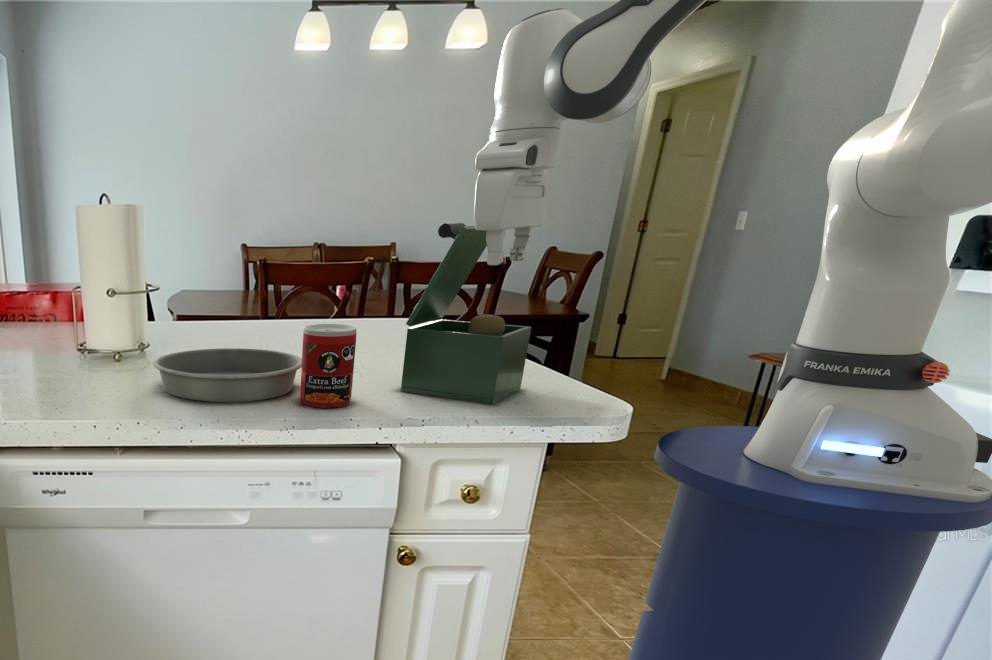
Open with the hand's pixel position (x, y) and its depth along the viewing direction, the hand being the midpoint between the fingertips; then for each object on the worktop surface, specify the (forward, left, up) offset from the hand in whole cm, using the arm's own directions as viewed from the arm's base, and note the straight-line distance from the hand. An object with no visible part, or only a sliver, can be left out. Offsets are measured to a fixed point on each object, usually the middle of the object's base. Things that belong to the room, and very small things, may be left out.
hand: (506, 262), depth 104 cm
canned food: (+17, +20, -20) cm, 33 cm away
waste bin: (+4, 0, -19) cm, 20 cm away
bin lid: (+7, 0, -2) cm, 8 cm away
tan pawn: (+1, 0, -19) cm, 19 cm away
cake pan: (+35, +21, -20) cm, 45 cm away
